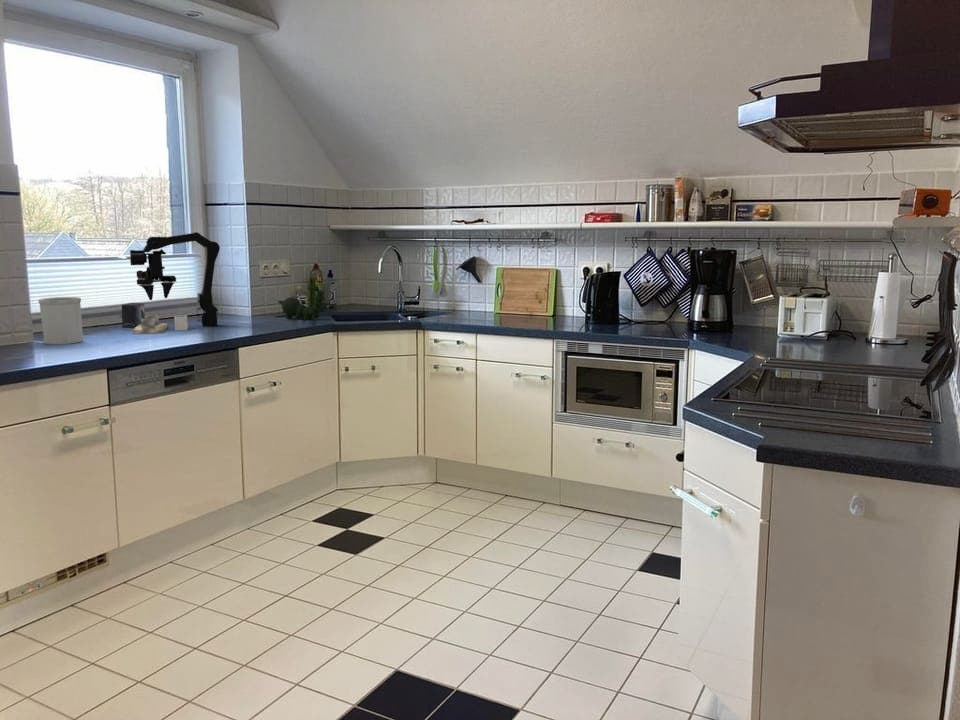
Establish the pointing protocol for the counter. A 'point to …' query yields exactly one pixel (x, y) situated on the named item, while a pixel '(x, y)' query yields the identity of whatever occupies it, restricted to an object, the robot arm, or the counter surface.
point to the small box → (132, 314)
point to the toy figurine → (303, 306)
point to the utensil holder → (61, 320)
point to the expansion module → (181, 322)
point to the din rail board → (156, 330)
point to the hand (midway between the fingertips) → (158, 299)
